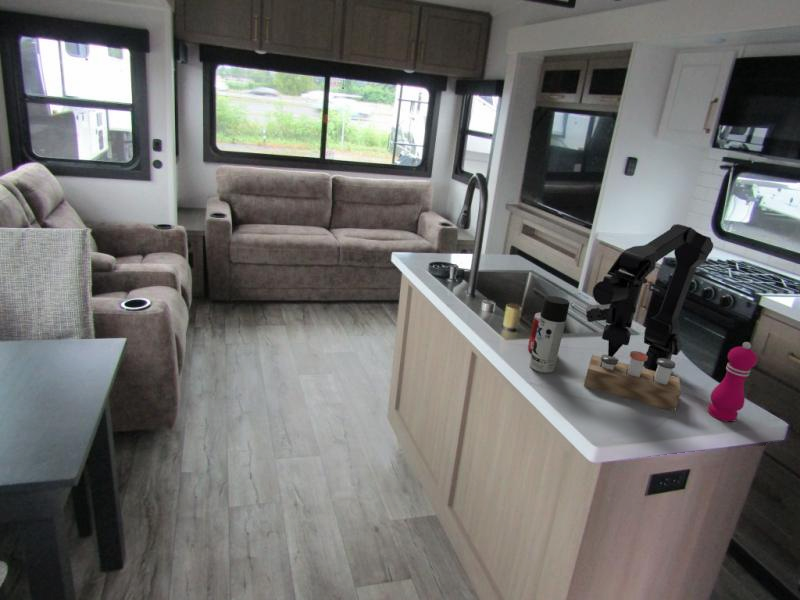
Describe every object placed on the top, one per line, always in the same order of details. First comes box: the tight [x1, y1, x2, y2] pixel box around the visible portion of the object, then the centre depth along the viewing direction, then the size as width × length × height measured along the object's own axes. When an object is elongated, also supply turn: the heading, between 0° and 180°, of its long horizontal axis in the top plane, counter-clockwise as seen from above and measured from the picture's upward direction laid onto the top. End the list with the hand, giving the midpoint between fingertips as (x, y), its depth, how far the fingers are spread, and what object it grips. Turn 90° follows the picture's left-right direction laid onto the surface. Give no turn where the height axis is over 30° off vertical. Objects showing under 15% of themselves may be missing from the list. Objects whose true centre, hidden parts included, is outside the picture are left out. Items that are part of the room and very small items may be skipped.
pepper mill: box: [707, 341, 758, 422], centre depth 134 cm, size 7×7×20 cm
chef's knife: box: [680, 384, 712, 404], centre depth 148 cm, size 19×1×3 cm
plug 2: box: [653, 358, 677, 385], centre depth 140 cm, size 4×4×7 cm
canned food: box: [527, 312, 541, 354], centre depth 160 cm, size 8×8×11 cm
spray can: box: [529, 295, 571, 374], centre depth 148 cm, size 7×7×20 cm
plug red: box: [627, 350, 648, 378], centre depth 143 cm, size 4×4×7 cm
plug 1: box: [600, 354, 619, 370], centre depth 146 cm, size 4×4×7 cm
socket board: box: [583, 354, 681, 412], centre depth 144 cm, size 22×10×5 cm, turn 66°
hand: (610, 355), depth 144 cm, fingers closed
